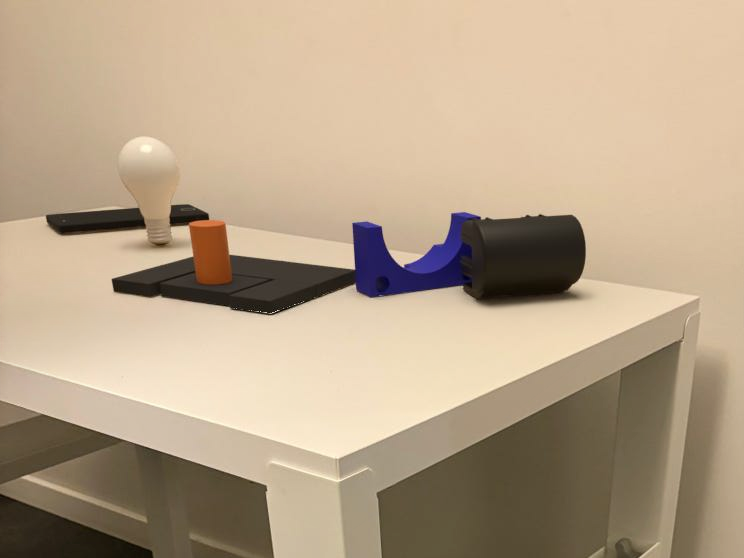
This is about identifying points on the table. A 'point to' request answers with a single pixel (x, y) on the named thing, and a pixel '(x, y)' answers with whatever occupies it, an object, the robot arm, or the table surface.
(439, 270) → the blue pipe cradle
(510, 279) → the end cap
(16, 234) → the table surface
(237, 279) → the small pad
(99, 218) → the cell phone
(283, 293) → the big pad
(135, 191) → the lightbulb
